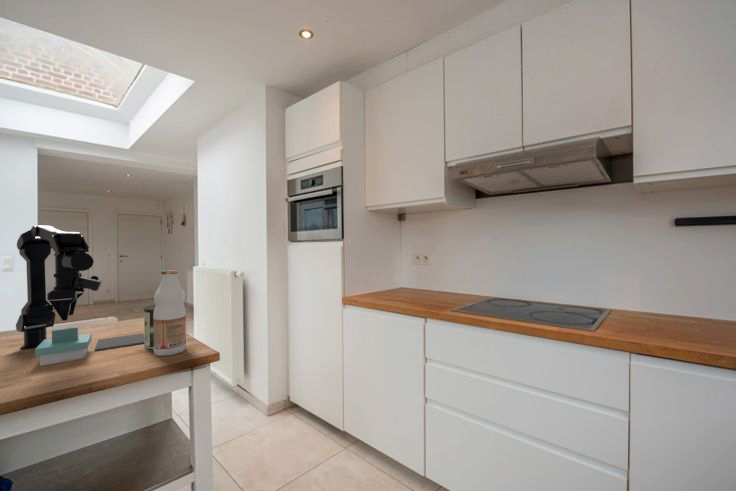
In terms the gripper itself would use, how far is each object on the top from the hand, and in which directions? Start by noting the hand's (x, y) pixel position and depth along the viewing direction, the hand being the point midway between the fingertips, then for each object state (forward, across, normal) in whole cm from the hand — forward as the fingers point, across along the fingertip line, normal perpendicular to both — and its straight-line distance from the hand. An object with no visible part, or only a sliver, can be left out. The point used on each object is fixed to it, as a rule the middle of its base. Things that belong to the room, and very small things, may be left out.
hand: (68, 317), depth 103 cm
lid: (+10, 0, +1) cm, 10 cm away
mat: (+13, +10, -13) cm, 21 cm away
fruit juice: (+14, -13, -28) cm, 33 cm away
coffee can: (+13, -2, -25) cm, 29 cm away
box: (+13, 0, +1) cm, 13 cm away
